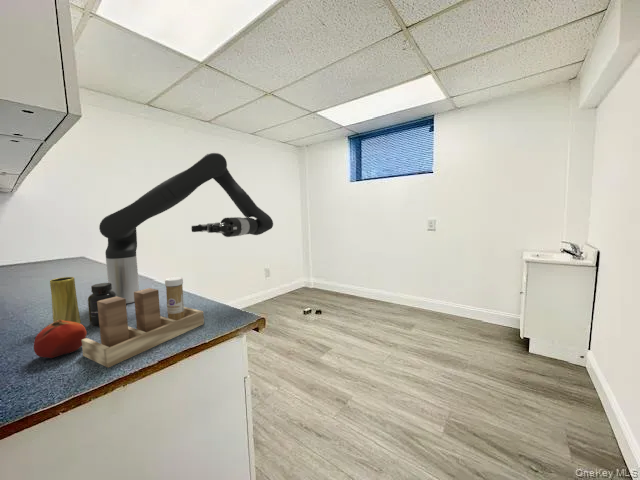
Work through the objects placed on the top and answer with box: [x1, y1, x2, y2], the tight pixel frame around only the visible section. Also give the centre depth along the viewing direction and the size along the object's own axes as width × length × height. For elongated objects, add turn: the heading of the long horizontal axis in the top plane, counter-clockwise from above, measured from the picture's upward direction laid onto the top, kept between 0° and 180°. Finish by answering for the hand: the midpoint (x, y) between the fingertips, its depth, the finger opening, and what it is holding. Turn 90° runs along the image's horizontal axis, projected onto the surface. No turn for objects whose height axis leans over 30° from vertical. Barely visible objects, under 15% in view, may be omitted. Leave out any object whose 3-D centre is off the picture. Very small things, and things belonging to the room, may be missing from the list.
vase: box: [49, 276, 82, 324], centre depth 79 cm, size 6×6×14 cm
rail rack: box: [81, 287, 205, 368], centre depth 70 cm, size 11×25×13 cm, turn 154°
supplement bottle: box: [87, 282, 116, 327], centre depth 80 cm, size 7×7×12 cm
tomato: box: [33, 320, 88, 359], centre depth 63 cm, size 9×9×8 cm
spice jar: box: [164, 276, 185, 320], centre depth 77 cm, size 5×5×13 cm
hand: (200, 229), depth 90 cm, fingers open, 8 cm apart
